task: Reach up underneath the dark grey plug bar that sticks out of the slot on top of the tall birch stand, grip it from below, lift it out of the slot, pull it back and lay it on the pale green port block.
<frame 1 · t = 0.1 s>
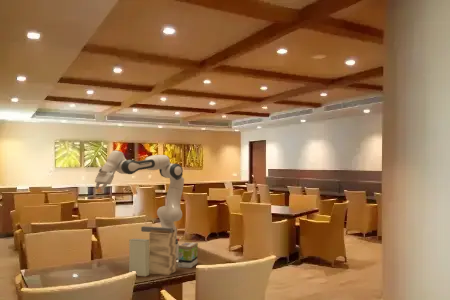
hand: (98, 189, 275), 54 cm above the table, tool tilted 30°, fingers open, 8 cm apart
stand: (162, 272, 266), on the table
plug bar: (157, 231, 269), point 26 cm above the table, touching stand
tea box: (188, 265, 285), on the table
port block: (139, 274, 260), on the table
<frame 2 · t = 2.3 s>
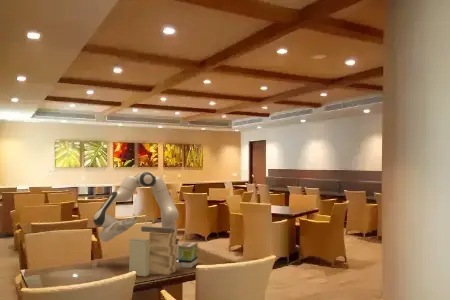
hand: (133, 218, 276), 34 cm above the table, tool pointing upward, fingers open, 8 cm apart
nothing on the table moved.
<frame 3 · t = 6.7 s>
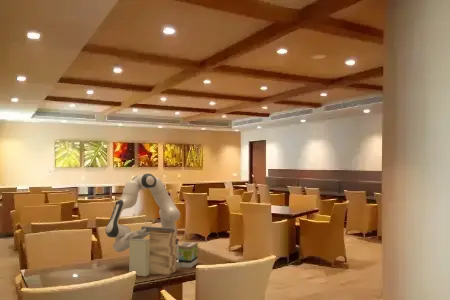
hand: (148, 228, 271), 28 cm above the table, tool pointing upward, fingers closed on plug bar, 3 cm apart
plug bar: (157, 231, 269), point 26 cm above the table, touching gripper, stand
everything else where it was.
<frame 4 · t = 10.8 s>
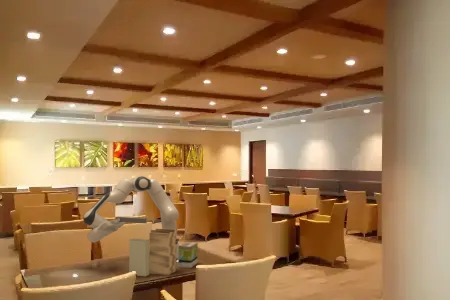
hand: (121, 218, 270), 35 cm above the table, tool pointing upward, fingers closed on plug bar, 3 cm apart
plug bar: (130, 222, 267), point 33 cm above the table, touching gripper
everything else where it was.
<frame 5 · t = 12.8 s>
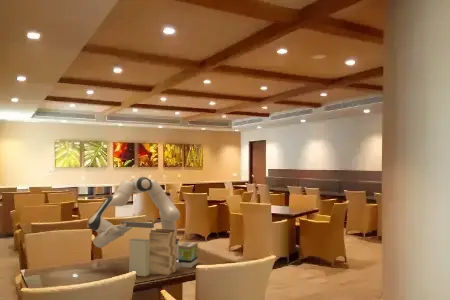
hand: (128, 223, 264), 32 cm above the table, tool pointing upward, fingers closed on plug bar, 3 cm apart
plug bar: (137, 226, 262), point 30 cm above the table, touching gripper
everything else where it was.
when the fingers open (25 cm above the table, at t = 14.7 s): plug bar stays where it is, resting on port block.
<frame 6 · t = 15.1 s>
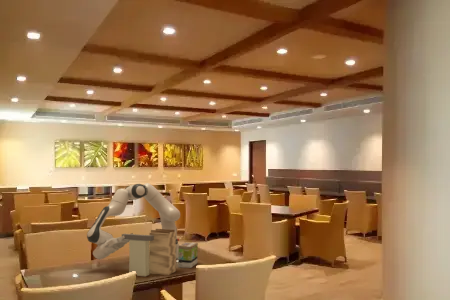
hand: (128, 235, 264), 25 cm above the table, tool pointing upward, fingers open, 8 cm apart
plug bar: (137, 239, 261), point 22 cm above the table, touching port block
everything else where it was.
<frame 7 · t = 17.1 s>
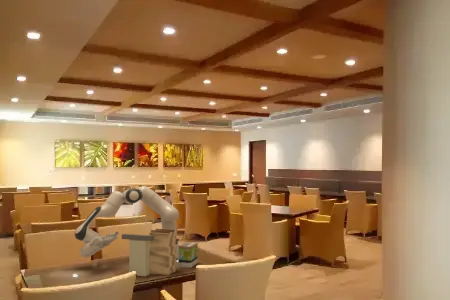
hand: (113, 233, 269), 25 cm above the table, tool pointing upward, fingers open, 8 cm apart
nothing on the table moved.
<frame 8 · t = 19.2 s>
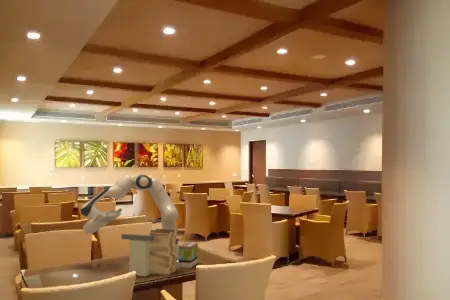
hand: (116, 209, 273), 40 cm above the table, tool pointing upward, fingers open, 8 cm apart
nothing on the table moved.
at the end: plug bar inside the target area (0.6 cm from its centre), point 22.3 cm above the table; plug bar moved 13.9 cm from its start; the gripper is holding nothing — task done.
